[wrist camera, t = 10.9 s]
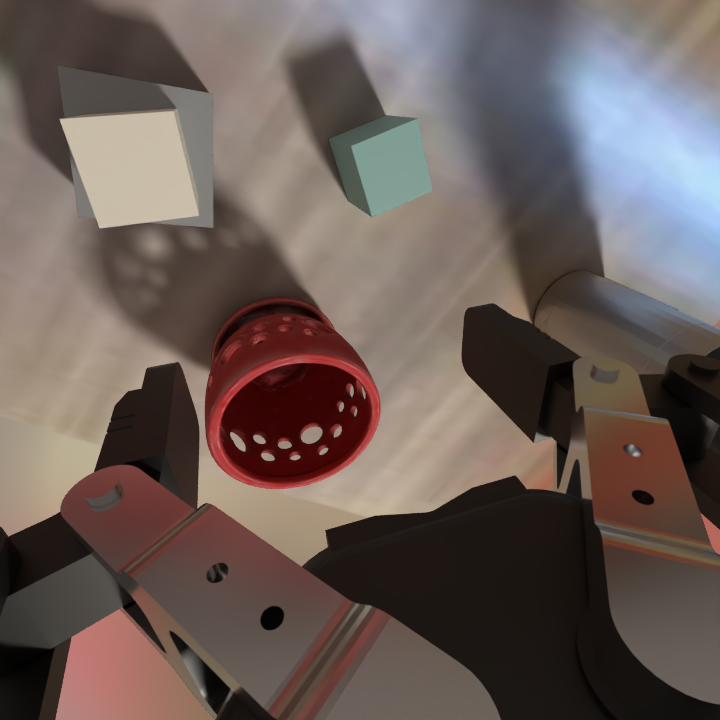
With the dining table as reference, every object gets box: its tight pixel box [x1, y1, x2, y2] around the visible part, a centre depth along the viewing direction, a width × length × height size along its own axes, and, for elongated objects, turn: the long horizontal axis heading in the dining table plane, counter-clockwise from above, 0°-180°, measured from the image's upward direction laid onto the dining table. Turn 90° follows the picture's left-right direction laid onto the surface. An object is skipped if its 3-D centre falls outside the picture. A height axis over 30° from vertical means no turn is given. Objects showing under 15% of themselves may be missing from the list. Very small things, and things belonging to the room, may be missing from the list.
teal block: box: [329, 115, 432, 217], centre depth 33 cm, size 5×5×6 cm
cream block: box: [60, 108, 199, 228], centre depth 24 cm, size 5×5×6 cm
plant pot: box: [205, 298, 381, 489], centre depth 37 cm, size 13×13×12 cm
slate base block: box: [57, 65, 213, 228], centre depth 29 cm, size 8×8×5 cm
